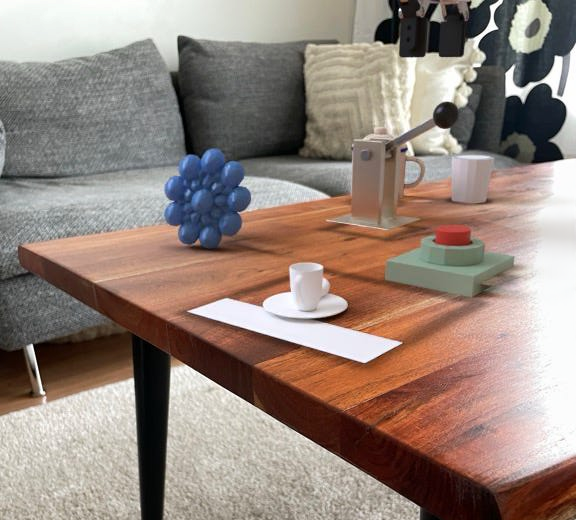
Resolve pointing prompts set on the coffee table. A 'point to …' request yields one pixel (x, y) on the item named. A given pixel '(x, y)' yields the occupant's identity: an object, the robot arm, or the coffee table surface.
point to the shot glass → (471, 177)
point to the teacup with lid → (403, 158)
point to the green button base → (448, 267)
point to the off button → (453, 235)
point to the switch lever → (427, 125)
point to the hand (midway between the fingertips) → (432, 57)
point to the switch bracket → (374, 186)
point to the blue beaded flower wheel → (206, 199)
